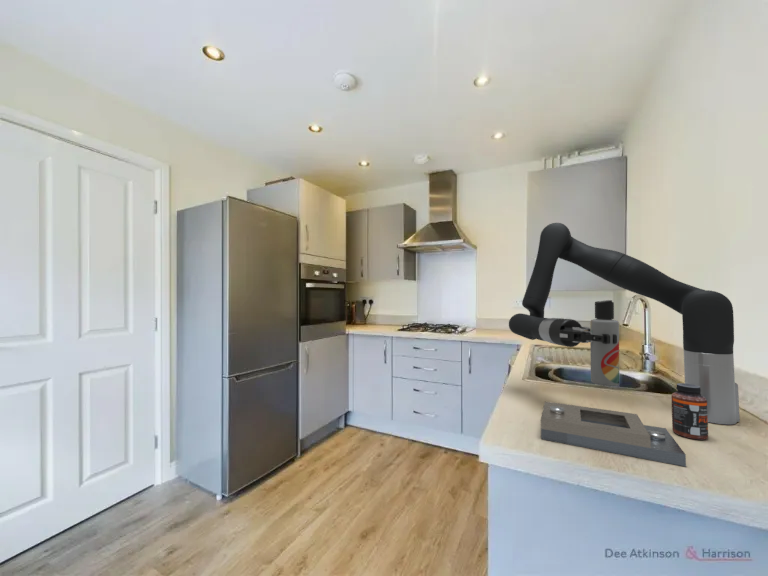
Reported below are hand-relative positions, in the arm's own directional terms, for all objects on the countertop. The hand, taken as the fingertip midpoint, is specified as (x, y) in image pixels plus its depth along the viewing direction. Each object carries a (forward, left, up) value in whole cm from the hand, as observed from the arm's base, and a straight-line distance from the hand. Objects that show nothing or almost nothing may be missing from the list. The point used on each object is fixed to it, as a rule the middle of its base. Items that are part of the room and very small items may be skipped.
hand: (612, 339), depth 74 cm
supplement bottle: (-17, +2, -22) cm, 28 cm away
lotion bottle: (-1, -3, -11) cm, 12 cm away
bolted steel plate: (+4, +2, -22) cm, 22 cm away
